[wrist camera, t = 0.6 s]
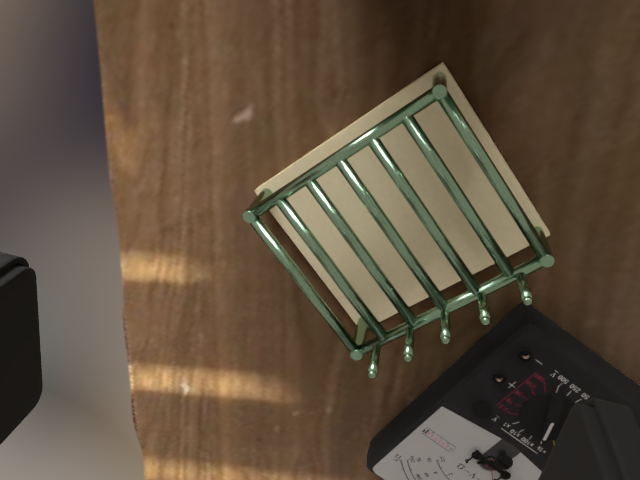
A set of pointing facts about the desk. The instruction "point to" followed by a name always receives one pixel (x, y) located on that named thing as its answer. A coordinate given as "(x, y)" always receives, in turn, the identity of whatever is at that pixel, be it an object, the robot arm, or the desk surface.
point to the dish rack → (404, 216)
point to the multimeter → (498, 406)
